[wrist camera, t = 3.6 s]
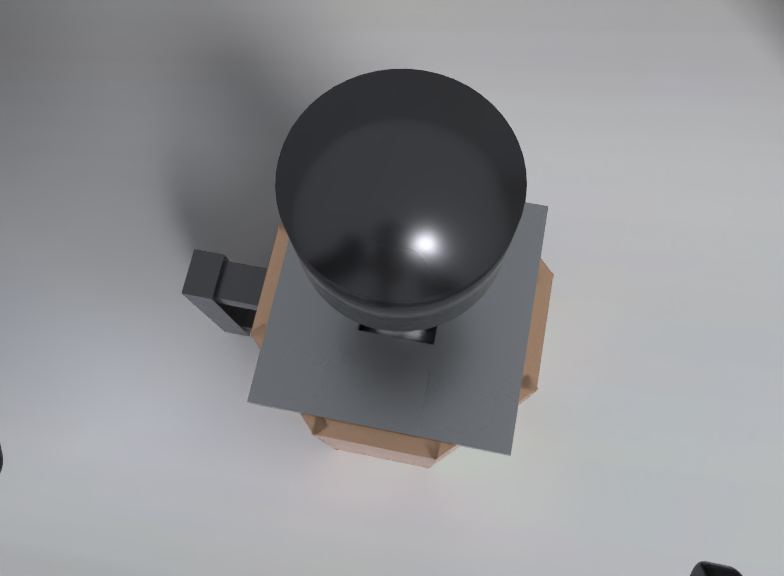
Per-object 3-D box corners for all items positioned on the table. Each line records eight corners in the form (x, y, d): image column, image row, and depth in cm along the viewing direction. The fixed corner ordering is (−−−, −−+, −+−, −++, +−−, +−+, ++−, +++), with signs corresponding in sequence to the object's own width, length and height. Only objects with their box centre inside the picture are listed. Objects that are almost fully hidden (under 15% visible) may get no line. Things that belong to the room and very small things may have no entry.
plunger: (481, 428, 17) (543, 373, 9) (289, 389, 18) (194, 306, 10) (511, 245, 18) (588, 61, 11) (332, 212, 19) (278, 12, 11)
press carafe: (495, 482, 21) (527, 478, 15) (203, 422, 22) (132, 397, 16) (528, 266, 23) (567, 193, 17) (258, 217, 23) (212, 131, 18)
